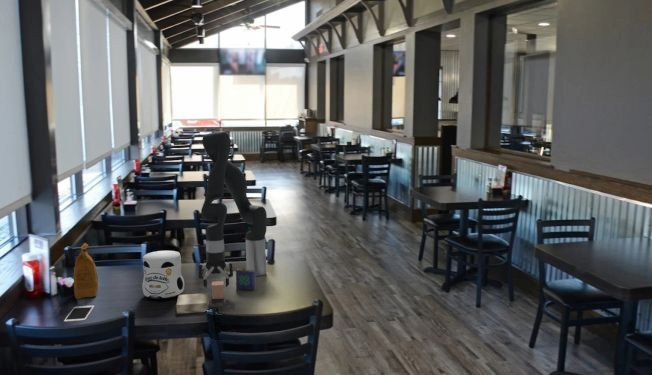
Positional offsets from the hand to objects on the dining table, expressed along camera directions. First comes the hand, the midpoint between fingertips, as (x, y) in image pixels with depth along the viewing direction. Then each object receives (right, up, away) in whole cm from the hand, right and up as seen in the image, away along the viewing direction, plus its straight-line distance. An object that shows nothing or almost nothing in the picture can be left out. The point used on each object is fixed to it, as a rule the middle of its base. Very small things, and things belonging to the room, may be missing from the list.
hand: (216, 286), depth 247 cm
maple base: (-7, -7, -12) cm, 15 cm away
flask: (+11, -3, +10) cm, 15 cm away
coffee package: (-57, -4, +5) cm, 57 cm away
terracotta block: (+1, -4, +1) cm, 4 cm away
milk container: (-23, -4, +3) cm, 24 cm away
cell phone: (-51, -8, -17) cm, 54 cm away
